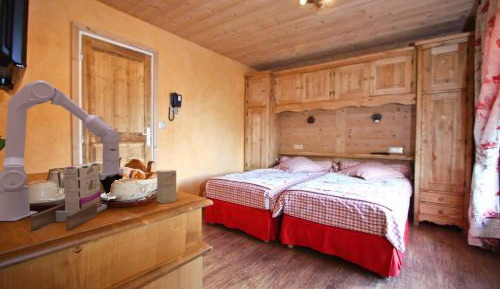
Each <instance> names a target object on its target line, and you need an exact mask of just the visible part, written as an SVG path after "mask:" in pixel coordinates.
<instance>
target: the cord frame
mask: <svg viewBox="0 0 500 289" xmlns="http://www.w3.org/2000/svg"><path fill="white" fill-rule="evenodd" d="M107 208H108V204H107V203H105V204H101V207H99V208H97V214H98V213H100V212H102V211H103V210H106V209H107ZM74 212H76V211H56V221H55V222H59V223H63V222H65V223H66V216H67V215H70V214H72V213H74Z"/></svg>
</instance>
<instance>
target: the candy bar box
mask: <svg viewBox="0 0 500 289" xmlns="http://www.w3.org/2000/svg"><path fill="white" fill-rule="evenodd" d="M100 167H101V166H100V162H84V163H79V164H76V165H70V166H65V167H63V168H62V174H63V189H64V204H65V211H79V210H81V209H83V208H85V207H87V206H90V205H92V204H97V208H99V207H101V203H102V194H101V182H100V173H101V168H100Z"/></svg>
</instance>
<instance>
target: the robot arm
mask: <svg viewBox="0 0 500 289" xmlns="http://www.w3.org/2000/svg"><path fill="white" fill-rule="evenodd" d="M48 102H50V105H53V106H59V107H62V108H63V109H65V110H66V111H67V112H69V113H71V114H72V115H73V116H74V117H76V118H78V119H79V120H80V121H81V122H82V126H83V127H84V128H85V129H86V130H88V131H89V132H90V133H91V134H92V135H94V136H95V137H97V138H99V140H100V142H101V143H102V149H101V151H102V171H101V172H100V185H102V187H103V191H104V193H105V195H106V194H107V193H109V192H110V187H111V184H112V183H113V182H114V181H115V180H119V179H123V178H124V175H123V174H124V168H121V167H120V142H121V141H122V136H121V135H120V132H118V131H117V130H116V129H112V128H113V126H112V125H108V124H107V123H106V122H104V120H102V119H103V118H102V117H101V116H100V115H99V116H97V115H95V114H89V113H88V112H86V111H85V110H84V109H83V108H82V107H80V106H79V104H77V103H76V102H75V101H73V100H72V98H70V97H69V96H68V95H66V94H65V93H64V92H63V91H62V90H60V89H58V88H57V87H54V86H53V85H52V84H51V83H50V82H48V81H46V80H40V79H39V80H35V81H32V82H28V83H26V84H25V85H24V86H22V88H21V89H20V90H19V91H17V92H16V93H14V94H13V96H12V97H10V98H9V99H8V101H7V112H6V125H5V126H6V127H5V128H6V129H5V145H4V158H3V167H2V168H3V169H2V170H1V172H0V222H16V221H18V220H22V219H23V218H24V219H25V218H27V217H29V216H32V215H35V214H37V213H38V211H37V210H36V211H35V210H31V208H30V204H31V203H30V185H27V184H26V183H27V182H28V176H27V172H26V171H25V152H26V151H25V150H26V149H25V148H26V133H27V119H28V118H27V117H28V110H29V109H32V108H33V107H36V105H40V104H44V103H48Z"/></svg>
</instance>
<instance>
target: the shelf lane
mask: <svg viewBox="0 0 500 289" xmlns="http://www.w3.org/2000/svg"><path fill="white" fill-rule="evenodd" d="M56 211H65V203H62V204H58V205H57V206H54V207H51V208H48V209H46V210H42V211H40V212H37V213H35V214H33V215H30V231H31V232H33V231H37V230H40V229H41V228H43V227H46V226H47V225H50V224H52V223H55V222H56ZM96 217H98V213H97V204H92V205H90V206H87V207H85V208H83V209H81V210H79V211H76V212H74V213H72V214H70V215H67V216H66V222H65V224H66V231H67V232H68V231H72V230H74V229H76V228H78V227H79V226H81V225H83V224H86V223H87V222H88V221H91V220H92V219H94V218H96Z"/></svg>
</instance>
